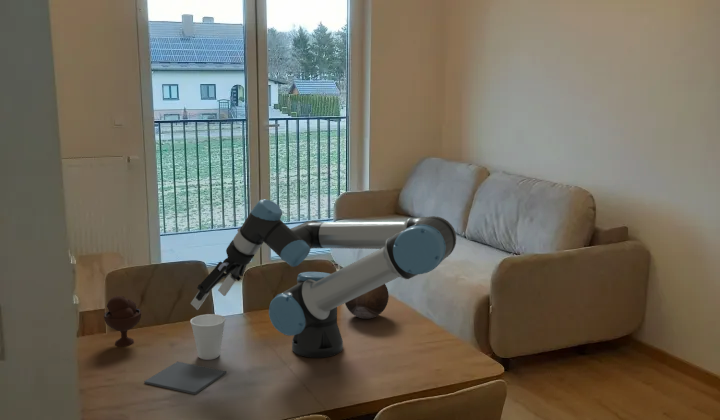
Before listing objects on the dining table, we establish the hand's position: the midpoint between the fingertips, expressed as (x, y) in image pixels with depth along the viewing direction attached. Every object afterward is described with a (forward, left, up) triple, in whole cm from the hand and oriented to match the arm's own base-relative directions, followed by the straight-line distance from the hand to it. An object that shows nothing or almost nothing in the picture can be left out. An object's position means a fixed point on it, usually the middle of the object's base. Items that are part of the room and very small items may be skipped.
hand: (208, 299), depth 203 cm
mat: (-6, +20, -15) cm, 26 cm away
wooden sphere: (-32, -44, -16) cm, 57 cm away
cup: (-3, +5, -16) cm, 16 cm away
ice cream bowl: (+26, +7, -16) cm, 31 cm away
